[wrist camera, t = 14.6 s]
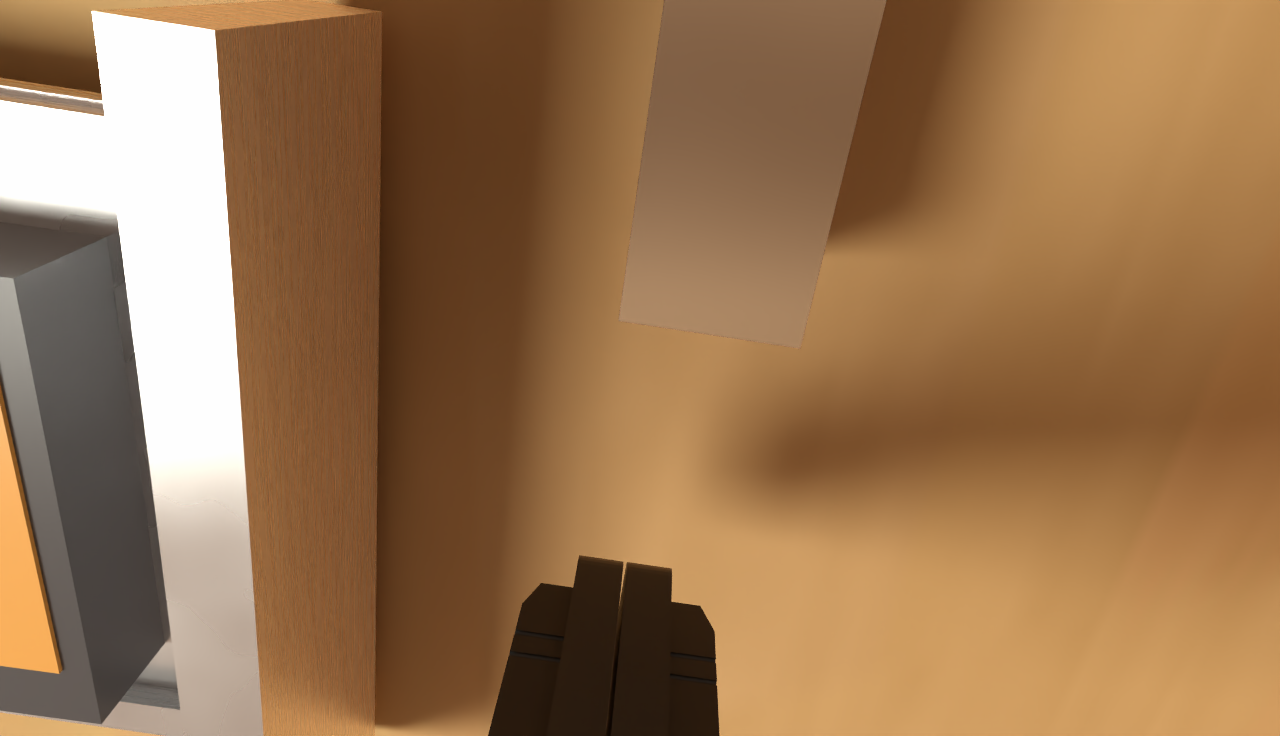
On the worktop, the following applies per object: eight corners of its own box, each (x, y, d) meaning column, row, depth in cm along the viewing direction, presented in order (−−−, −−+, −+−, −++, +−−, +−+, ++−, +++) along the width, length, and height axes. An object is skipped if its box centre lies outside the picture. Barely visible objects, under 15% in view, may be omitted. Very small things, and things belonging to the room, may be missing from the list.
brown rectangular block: (693, -170, 12) (697, -234, 8) (859, -143, 12) (933, -194, 8) (634, 235, 14) (618, 321, 11) (771, 256, 15) (800, 348, 11)
